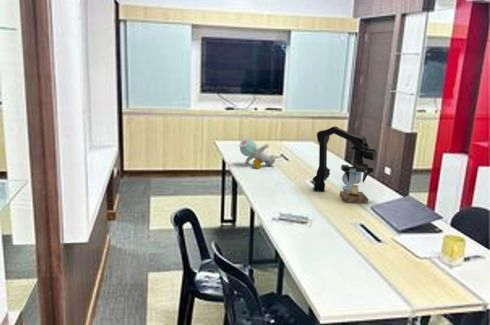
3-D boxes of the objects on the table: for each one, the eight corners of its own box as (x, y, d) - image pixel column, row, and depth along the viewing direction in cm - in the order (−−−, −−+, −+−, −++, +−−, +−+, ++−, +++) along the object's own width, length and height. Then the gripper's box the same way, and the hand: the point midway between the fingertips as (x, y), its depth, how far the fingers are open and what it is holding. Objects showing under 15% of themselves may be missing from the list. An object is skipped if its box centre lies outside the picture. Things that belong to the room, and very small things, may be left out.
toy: (285, 148, 339) (253, 128, 330) (280, 167, 329) (246, 147, 320) (263, 163, 364) (232, 145, 355) (257, 182, 354) (225, 163, 345)
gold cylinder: (350, 200, 278) (352, 186, 276) (349, 198, 282) (351, 184, 279) (357, 200, 278) (359, 186, 276) (355, 198, 282) (357, 184, 280)
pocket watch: (356, 171, 304) (362, 177, 289) (355, 187, 306) (360, 194, 292) (342, 170, 303) (347, 177, 289) (340, 186, 306) (345, 193, 291)
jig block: (344, 202, 273) (345, 198, 272) (339, 195, 286) (340, 190, 286) (367, 203, 273) (368, 198, 272) (361, 196, 287) (362, 191, 286)
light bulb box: (356, 183, 314) (358, 168, 311) (347, 181, 317) (348, 167, 314) (361, 180, 323) (362, 165, 320) (352, 178, 326) (353, 164, 323)
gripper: (346, 159, 265) (343, 185, 269) (377, 161, 266) (374, 186, 269) (342, 155, 276) (339, 180, 280) (372, 156, 276) (369, 181, 280)
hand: (355, 182), depth 277 cm, fingers open, 9 cm apart
